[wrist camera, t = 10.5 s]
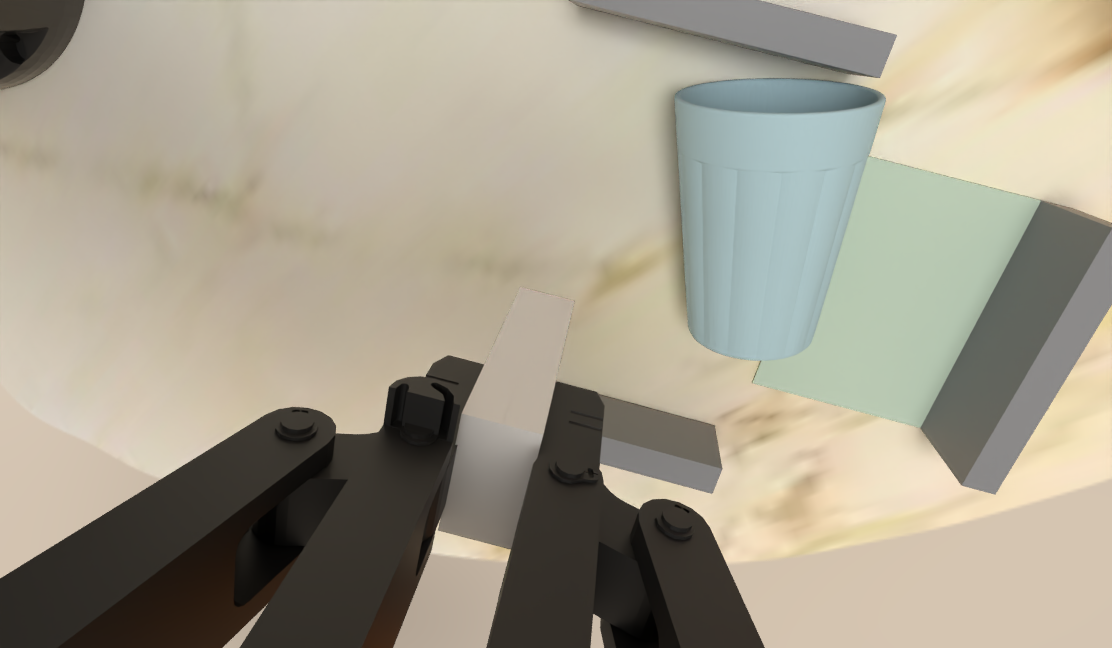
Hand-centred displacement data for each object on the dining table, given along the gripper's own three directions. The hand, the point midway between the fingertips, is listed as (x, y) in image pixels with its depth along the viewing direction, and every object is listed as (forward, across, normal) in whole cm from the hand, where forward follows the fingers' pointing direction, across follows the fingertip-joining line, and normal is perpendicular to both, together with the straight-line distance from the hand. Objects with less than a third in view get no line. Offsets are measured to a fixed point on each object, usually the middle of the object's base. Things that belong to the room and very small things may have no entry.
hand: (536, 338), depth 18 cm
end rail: (+15, +20, 0) cm, 25 cm away
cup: (+12, +4, -3) cm, 13 cm away
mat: (+15, +15, 0) cm, 21 cm away
